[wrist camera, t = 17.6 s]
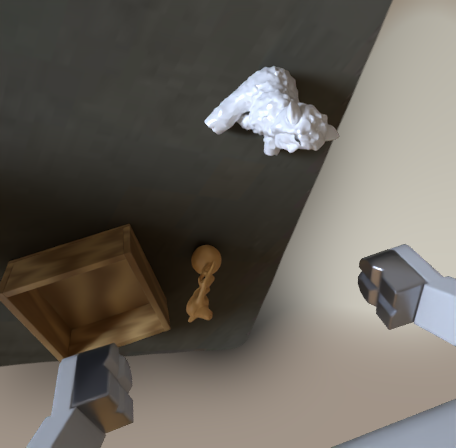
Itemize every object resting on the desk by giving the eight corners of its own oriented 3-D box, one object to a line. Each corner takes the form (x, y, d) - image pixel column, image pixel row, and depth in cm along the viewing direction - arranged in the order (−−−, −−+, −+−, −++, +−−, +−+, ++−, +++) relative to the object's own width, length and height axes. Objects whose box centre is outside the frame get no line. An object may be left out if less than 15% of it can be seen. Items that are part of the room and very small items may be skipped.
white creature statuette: (200, 124, 36) (228, 175, 26) (235, 41, 32) (283, 66, 23) (271, 153, 40) (318, 206, 31) (310, 83, 36) (377, 118, 27)
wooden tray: (69, 331, 48) (63, 366, 44) (8, 261, 39) (-6, 295, 35) (166, 299, 50) (170, 329, 45) (129, 223, 41) (130, 251, 36)
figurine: (208, 274, 49) (228, 344, 39) (167, 271, 46) (179, 344, 37) (226, 227, 45) (254, 293, 35) (182, 222, 42) (200, 290, 33)
